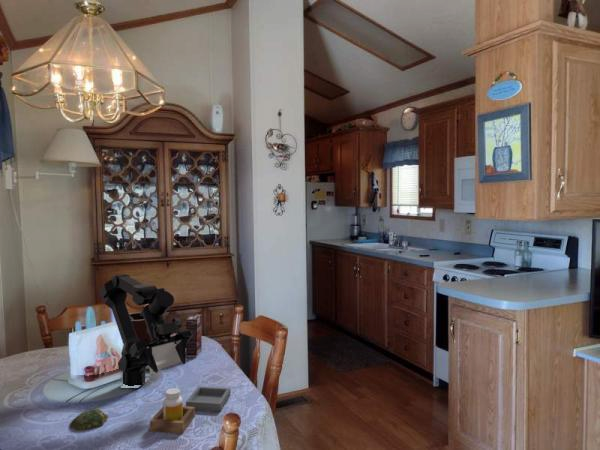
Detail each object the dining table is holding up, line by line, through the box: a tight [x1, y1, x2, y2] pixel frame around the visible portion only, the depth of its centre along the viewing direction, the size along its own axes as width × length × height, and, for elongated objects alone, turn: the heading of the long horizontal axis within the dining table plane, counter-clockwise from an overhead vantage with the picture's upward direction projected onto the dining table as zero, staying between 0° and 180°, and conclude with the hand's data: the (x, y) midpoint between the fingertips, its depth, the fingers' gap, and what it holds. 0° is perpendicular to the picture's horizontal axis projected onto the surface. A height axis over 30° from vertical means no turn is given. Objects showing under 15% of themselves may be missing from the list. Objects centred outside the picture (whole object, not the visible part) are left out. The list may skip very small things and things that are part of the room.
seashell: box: [69, 408, 109, 432], centre depth 123 cm, size 10×4×10 cm
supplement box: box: [185, 313, 203, 359], centre depth 178 cm, size 9×5×16 cm, turn 179°
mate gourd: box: [129, 311, 151, 342], centre depth 173 cm, size 16×14×20 cm
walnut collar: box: [149, 405, 196, 435], centre depth 122 cm, size 9×9×3 cm
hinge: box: [144, 342, 188, 373], centre depth 167 cm, size 17×5×10 cm, turn 140°
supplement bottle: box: [162, 387, 184, 421], centre depth 122 cm, size 5×5×10 cm
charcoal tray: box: [185, 385, 231, 413], centre depth 136 cm, size 11×11×2 cm
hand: (171, 368), depth 130 cm, fingers open, 9 cm apart
